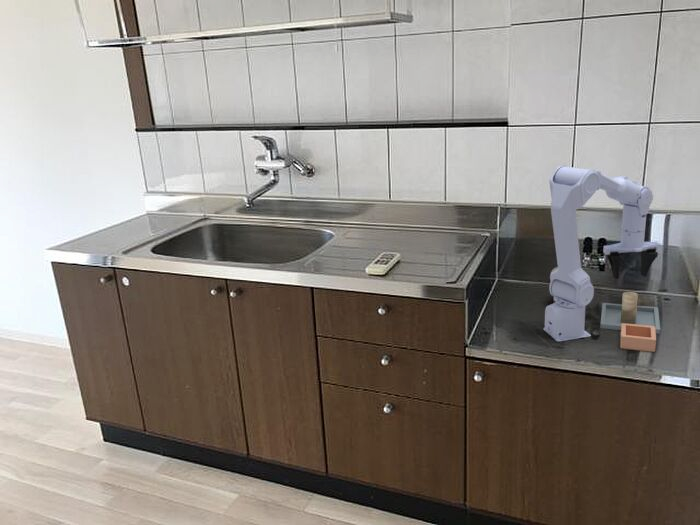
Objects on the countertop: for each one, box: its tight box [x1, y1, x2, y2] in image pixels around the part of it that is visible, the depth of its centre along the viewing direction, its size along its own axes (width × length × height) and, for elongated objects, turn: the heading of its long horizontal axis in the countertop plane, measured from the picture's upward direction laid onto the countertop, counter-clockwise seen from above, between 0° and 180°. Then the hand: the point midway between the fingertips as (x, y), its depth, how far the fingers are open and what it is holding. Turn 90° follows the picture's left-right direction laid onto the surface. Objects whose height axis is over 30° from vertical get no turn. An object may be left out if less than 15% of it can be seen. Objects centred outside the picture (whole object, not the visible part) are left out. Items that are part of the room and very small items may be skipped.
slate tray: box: [599, 302, 661, 335], centre depth 159 cm, size 14×14×2 cm
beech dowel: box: [621, 291, 639, 324], centre depth 157 cm, size 4×4×8 cm
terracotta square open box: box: [619, 323, 657, 353], centre depth 147 cm, size 8×8×4 cm
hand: (629, 276), depth 163 cm, fingers open, 7 cm apart
